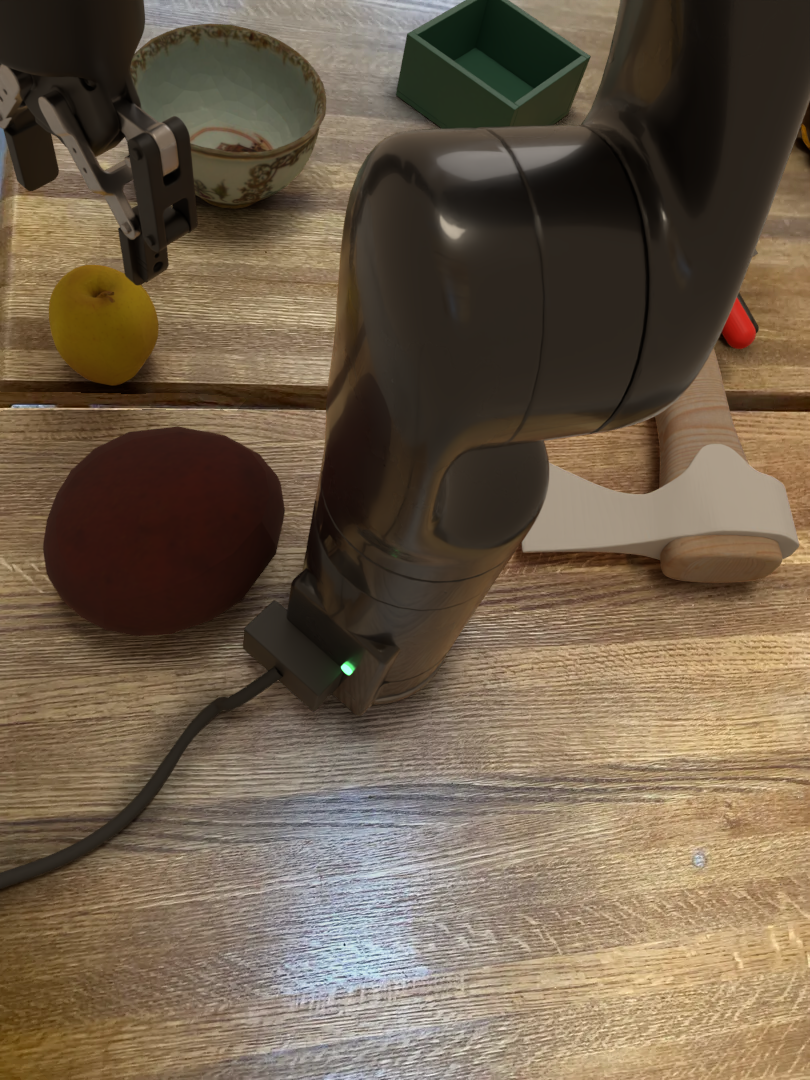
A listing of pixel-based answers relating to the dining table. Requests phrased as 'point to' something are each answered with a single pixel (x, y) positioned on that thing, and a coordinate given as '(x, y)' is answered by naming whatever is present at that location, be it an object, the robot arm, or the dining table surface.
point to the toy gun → (740, 324)
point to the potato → (162, 530)
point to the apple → (102, 324)
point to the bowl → (233, 107)
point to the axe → (680, 501)
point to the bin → (489, 68)
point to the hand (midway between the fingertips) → (92, 227)
